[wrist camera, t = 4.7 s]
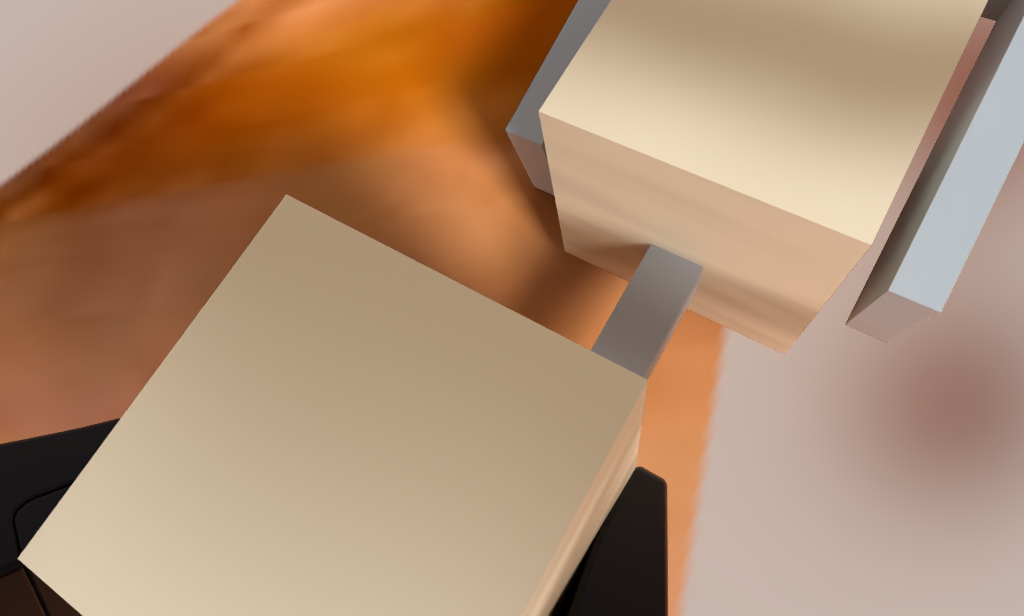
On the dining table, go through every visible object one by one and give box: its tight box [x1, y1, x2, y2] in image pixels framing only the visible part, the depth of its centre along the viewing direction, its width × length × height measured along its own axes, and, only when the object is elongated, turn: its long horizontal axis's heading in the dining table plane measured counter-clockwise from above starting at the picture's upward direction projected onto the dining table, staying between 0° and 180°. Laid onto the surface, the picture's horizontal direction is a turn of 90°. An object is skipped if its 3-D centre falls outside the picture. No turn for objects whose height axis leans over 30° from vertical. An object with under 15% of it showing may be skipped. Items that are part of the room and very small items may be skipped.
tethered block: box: [18, 0, 988, 616], centre depth 11 cm, size 14×6×12 cm, turn 150°
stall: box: [505, 0, 1024, 343], centre depth 17 cm, size 10×10×4 cm
